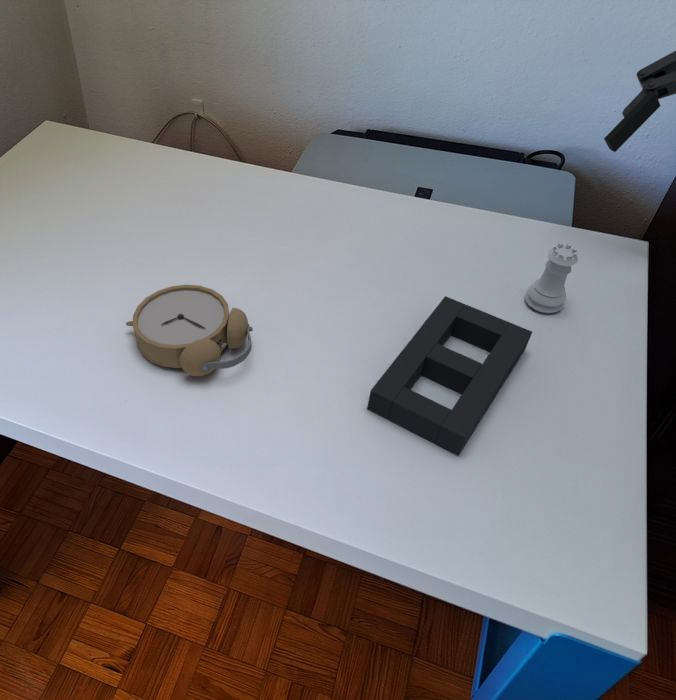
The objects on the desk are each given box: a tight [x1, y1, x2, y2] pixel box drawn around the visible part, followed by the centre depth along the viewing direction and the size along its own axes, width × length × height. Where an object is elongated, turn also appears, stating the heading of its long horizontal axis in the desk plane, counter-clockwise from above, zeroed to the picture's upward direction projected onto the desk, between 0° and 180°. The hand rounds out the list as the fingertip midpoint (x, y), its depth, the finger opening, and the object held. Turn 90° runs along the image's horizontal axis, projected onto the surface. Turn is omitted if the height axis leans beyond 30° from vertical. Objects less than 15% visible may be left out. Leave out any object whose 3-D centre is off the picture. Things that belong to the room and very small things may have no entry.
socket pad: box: [366, 295, 533, 456], centre depth 74 cm, size 10×18×3 cm, turn 142°
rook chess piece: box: [524, 242, 579, 314], centre depth 80 cm, size 4×4×8 cm
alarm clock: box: [125, 284, 254, 377], centre depth 79 cm, size 11×5×15 cm
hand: (658, 173), depth 75 cm, fingers open, 13 cm apart
